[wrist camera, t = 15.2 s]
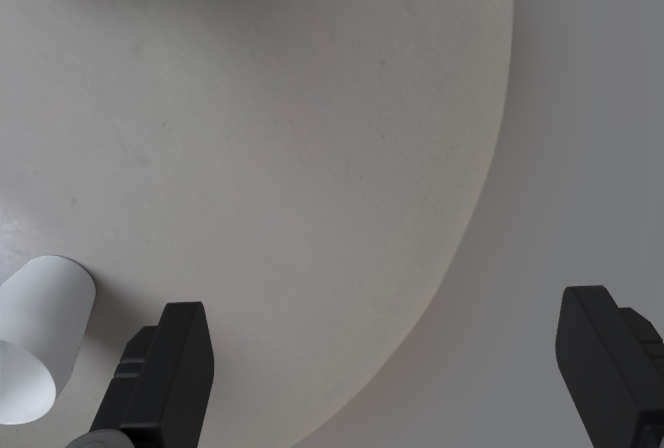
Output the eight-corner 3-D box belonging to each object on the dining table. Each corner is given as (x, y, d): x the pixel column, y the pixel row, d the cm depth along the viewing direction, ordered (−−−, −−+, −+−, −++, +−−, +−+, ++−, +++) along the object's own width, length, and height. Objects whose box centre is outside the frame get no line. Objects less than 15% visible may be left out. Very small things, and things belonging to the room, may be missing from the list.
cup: (22, 325, 58) (-46, 427, 47) (-7, 243, 53) (-90, 335, 43) (119, 324, 57) (71, 425, 47) (98, 241, 53) (40, 333, 43)
